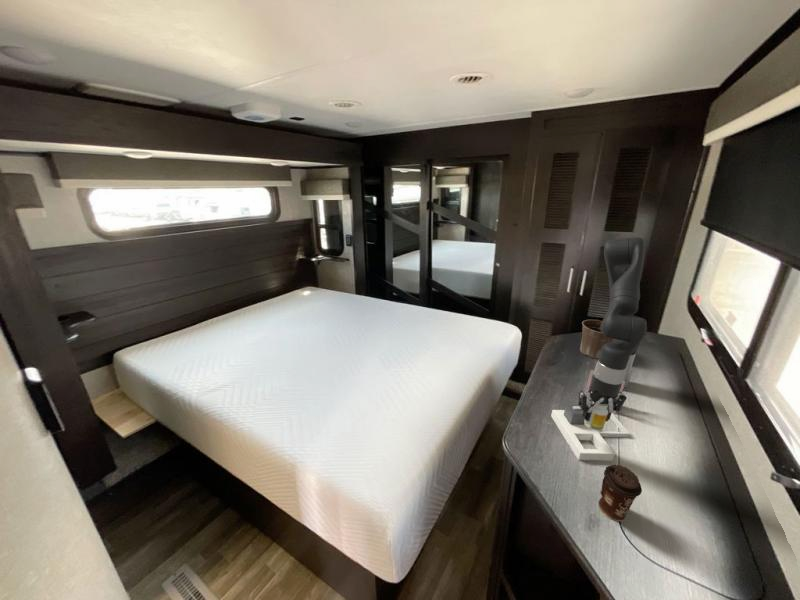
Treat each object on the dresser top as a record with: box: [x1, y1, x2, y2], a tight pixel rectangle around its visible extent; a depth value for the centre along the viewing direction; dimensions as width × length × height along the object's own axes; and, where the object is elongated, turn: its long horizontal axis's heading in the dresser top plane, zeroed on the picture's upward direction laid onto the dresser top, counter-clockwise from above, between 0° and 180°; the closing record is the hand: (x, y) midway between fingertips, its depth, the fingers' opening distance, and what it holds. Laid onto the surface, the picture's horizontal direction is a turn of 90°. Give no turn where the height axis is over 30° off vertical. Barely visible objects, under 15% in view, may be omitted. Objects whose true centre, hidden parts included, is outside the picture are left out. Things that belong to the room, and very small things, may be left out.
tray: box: [598, 413, 631, 438], centre depth 113 cm, size 12×12×2 cm
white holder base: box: [551, 403, 616, 462], centre depth 107 cm, size 11×20×9 cm, turn 179°
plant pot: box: [579, 319, 614, 360], centre depth 159 cm, size 16×16×16 cm
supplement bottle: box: [584, 402, 608, 431], centre depth 98 cm, size 5×5×10 cm
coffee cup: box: [598, 464, 643, 522], centre depth 82 cm, size 9×8×13 cm
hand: (595, 419), depth 99 cm, fingers closed on supplement bottle, 5 cm apart
